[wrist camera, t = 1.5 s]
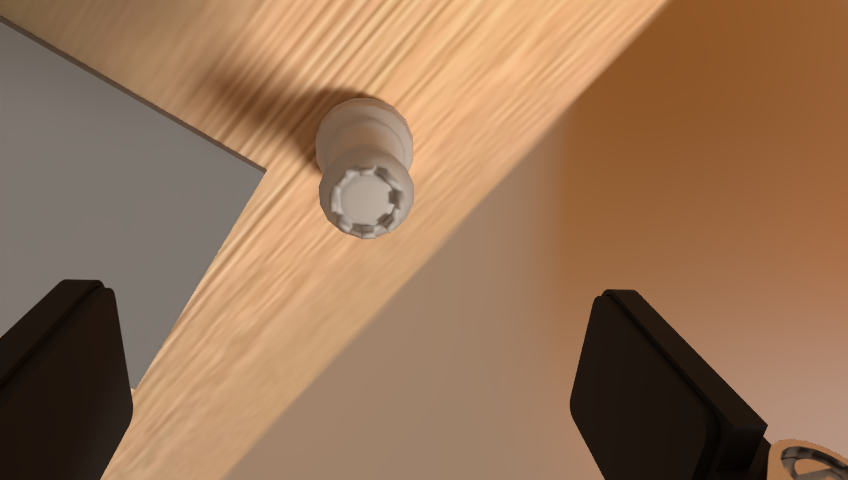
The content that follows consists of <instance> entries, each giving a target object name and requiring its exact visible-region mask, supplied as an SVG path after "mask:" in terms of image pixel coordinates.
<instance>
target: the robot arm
mask: <svg viewBox="0 0 848 480" xmlns="http://www.w3.org/2000/svg"><path fill="white" fill-rule="evenodd" d="M570 411H571V415H572V418H573V420H574V422H575V424H576V425H577V427H578V429H579V431H580V433H581V435H582V437H583V439H584V441H585V443H586V444H587V446H588V448H589V450H590V452H591V454H592V456H593V458H594V460H595V462H596V463H597V465H598V467H599V469H600V471H601V473H602V475H603V477H604V479H605V480H848V459H846V458H844V457H843V456H841V455H840V454H837V453H836V452H833V451H831V450H829V449H827V448H825V447H823V446H819V445H817V444H814V443H810V442H807V441H801V440H795V439H787V440H780V441H778V442H776V443H774V444H772V445H771V444H770V443H769V442H768V441H767V440H766V439H765V438H764V437H763V435H764V433H765V431H766V428H767V426H768V425H767V424H766V423H765V422H764V421H763V420H762V418H761V417H759V415H758V414H757V413H756V412H755V411H754V410H753V409H752V408H751V407H750V406H749V405H747V403H746V402H745V401H744V400H743V399H742V398H741V397H740V396H739V395H738V394H737V393H736V392H735V391H734V390H733V389H732V388H731V387H730V386H729V385H728V384H727V383H726V382H725V381H724V380H723V379H722V378H721V377H720V376H719V375H718V374H717V373H716V372H715V371H714V370H713V369H712V368H711V367H710V366H709V365H708V364H707V363H706V361H704V360H703V359H702V357H701V356H700V355H698V353H697V352H696V351H695V350H694V349H693V348H692V347H691V346H690V345H689V344H688V343H687V342H686V341H685V340H684V339H683V338H682V337H681V336H680V335H679V334H678V333H677V332H676V331H675V330H674V329H673V328H672V327H671V326H670V325H669V324H668V323H667V322H666V321H665V320H664V319H663V318H662V317H661V316H660V315H659V314H658V313H657V312H656V311H655V310H654V309H653V308H652V307H651V306H650V305H649V303H647V301H646V300H645V299H643V297H642V296H641V295H639V293H638V292H636V291H635V290H615V289H607V290H605V291H604V292H603V294H602V295H601V296H597V297H596V298H595V300H594V302H593V305H592V310H591V314H590V318H589V322H588V326H587V331H586V335H585V339H584V343H583V347H582V352H581V356H580V360H579V364H578V368H577V372H576V377H575V381H574V385H573V389H572V393H571V398H570ZM132 414H133V402H132V395H131V389H130V383H129V377H128V371H127V365H126V358H125V352H124V346H123V340H122V334H121V328H120V322H119V315H118V309H117V303H116V297H115V293H114V291H113V289H111V288H105V286H104V284H103V283H102V281H100V280H80V279H64V280H62V281H60V282H59V283H58V284H57V285H56V286H55V287H54V288H53V289H52V290H51V291H50V292H49V293H48V294H46V295H45V296H44V297H43V298H42V299H41V300H40V301H39V302H38V303H37V304H36V305H35V306H34V307H33V308H32V309H30V310H29V311H28V312H27V313H26V314H25V315H24V316H23V317H22V318H21V319H20V320H19V321H18V322H17V323H15V324H14V325H13V326H12V327H11V328H10V329H9V330H8V331H7V332H6V333H5V334H4V335H3V336H2V337H1V338H0V480H100V479H101V477H102V475H103V473H104V471H105V469H106V468H107V466H108V464H109V462H110V460H111V458H112V456H113V455H114V453H115V451H116V449H117V447H118V445H119V443H120V442H121V440H122V438H123V436H124V434H125V432H126V430H127V429H128V427H129V425H130V422H131V419H132Z"/></svg>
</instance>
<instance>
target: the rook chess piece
mask: <svg viewBox="0 0 848 480" xmlns="http://www.w3.org/2000/svg"><path fill="white" fill-rule="evenodd" d="M315 145H316V160H317V164H318V166H319V168H320V170H321V172H322V174H323V177H322V179H321V182H320V185H319V197H320V205H321V207H322V209H323V211H324V213H325V215H326V217H327V219H328V220H329V221H330V222H331V223H332V224H333V225H334V226H336V227H337V228H338V229H339V230H340V231H342V232H344V233H346V234H350V235H353V236H356V237H358V238H361V239H376V237H379V236H381V235H384V234H386V233H390V232H391V231H393V230H395V229H396V228H397V227H398V226H399V225H400V224H401V223H402V222H403V221H404V220H405V219H406V218H407V216H408V214H409V211H410V209H411V207H412V205H413V200H414V184H413V182H412V180H411V177H410V175H409V173H408V171H409V169H410V166H411V164H412V162H413V136H412V134H411V132H410V129H409V127H408V124H407V122H406V119H405V118H404V117H403V116H402V115H401V114H400V113H399V112H398V111H397V110H396V109H395V108H394V107H393V106H391V105H389V104H387V103H384V102H382V101H379V100H377V99H375V98H352V99H350V100H347V101H345V102H343V103H340V104H338V105H336V106H334V107H333V108H332V110H331V111H330V112H329V113H328V114H327V115H326V116H325V117H324V118H323V119H322V120H321V123H320V126H319V129H318V132H317V134H316V137H315Z"/></svg>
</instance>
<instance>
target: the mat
mask: <svg viewBox="0 0 848 480" xmlns="http://www.w3.org/2000/svg"><path fill="white" fill-rule="evenodd" d="M266 171H267V170H266V169H264V168H263V167H261V166H259V165H257V164H256V163H254V162H252V161H251V160H249V159H247V158H245V157H244V156H242V155H240V154H238V153H237V152H235V151H233V150H231V149H230V148H228V147H226V146H225V145H223V144H221V143H219V142H218V141H216V140H214V139H212V138H211V137H209V136H207V135H206V134H204V133H202V132H200V131H199V130H197V129H195V128H193V127H192V126H190V125H188V124H187V123H185V122H183V121H181V120H180V119H178V118H176V117H174V116H173V115H171V114H169V113H167V112H166V111H164V110H162V109H161V108H159V107H157V106H155V105H154V104H152V103H150V102H148V101H147V100H145V99H143V98H142V97H140V96H138V95H136V94H135V93H133V92H131V91H129V90H128V89H126V88H124V87H122V86H121V85H119V84H117V83H116V82H114V81H112V80H110V79H109V78H107V77H105V76H103V75H102V74H100V73H98V72H97V71H95V70H93V69H91V68H90V67H88V66H86V65H84V64H83V63H81V62H79V61H77V60H76V59H74V58H72V57H71V56H69V55H67V54H65V53H64V52H62V51H60V50H58V49H57V48H55V47H53V46H52V45H50V44H48V43H46V42H45V41H43V40H41V39H39V38H38V37H36V36H34V35H33V34H31V33H29V32H27V31H26V30H24V29H22V28H20V27H19V26H17V25H15V24H13V23H12V22H10V21H8V20H7V19H5V18H3V17H1V16H0V336H3V335H4V334H5V333H6V332H7V331H8V330H9V329H10V328H11V327H12V326H13V325H14V324H15V323H17V322H18V321H19V320H20V319H21V318H22V317H23V316H24V315H25V314H26V313H27V312H28V311H29V310H30V309H32V308H33V307H34V306H35V305H36V304H37V303H38V302H39V301H40V300H41V299H42V298H43V297H44V296H45V295H46V294H48V293H49V292H50V291H51V290H52V289H53V288H54V287H55V286H56V285H57V284H58V283H59V282H60V281H62V280H64V279H80V280H100V281H102V283H103V284H104V286H105V288H111V289H113V291H114V293H115V297H116V303H117V309H118V315H119V322H120V328H121V334H122V340H123V346H124V352H125V358H126V365H127V371H128V377H129V383H130V388H133V389H136V388H137V386H138V384H139V383H140V381H141V379H142V378H143V376H144V374H145V373H146V371H147V369H148V368H149V366H150V364H151V363H152V361H153V359H154V358H155V356H156V354H157V353H158V351H159V349H160V348H161V346H162V344H163V343H164V341H165V339H166V338H167V336H168V334H169V333H170V331H171V329H172V328H173V326H174V324H175V323H176V321H177V319H178V318H179V316H180V314H181V313H182V311H183V309H184V308H185V306H186V304H187V303H188V301H189V299H190V298H191V296H192V294H193V293H194V291H195V289H196V288H197V286H198V284H199V283H200V281H201V279H202V278H203V276H204V274H205V273H206V271H207V269H208V268H209V266H210V264H211V263H212V261H213V259H214V258H215V256H216V254H217V253H218V251H219V249H220V248H221V246H222V244H223V243H224V241H225V239H226V238H227V236H228V234H229V233H230V231H231V229H232V228H233V226H234V224H235V223H236V221H237V219H238V218H239V216H240V214H241V213H242V211H243V209H244V208H245V206H246V204H247V203H248V201H249V199H250V198H251V196H252V194H253V193H254V191H255V189H256V188H257V186H258V184H259V183H260V181H261V179H262V178H263V176H264V174H265V172H266Z"/></svg>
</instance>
